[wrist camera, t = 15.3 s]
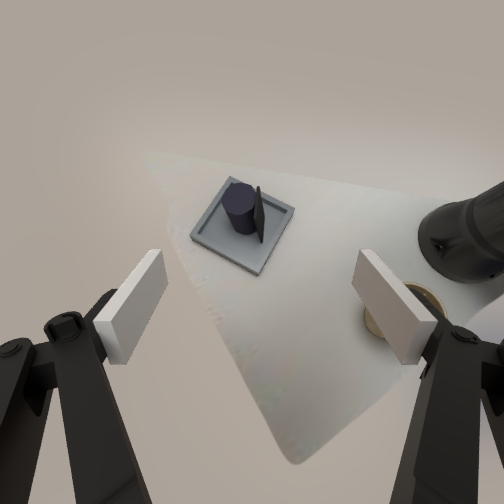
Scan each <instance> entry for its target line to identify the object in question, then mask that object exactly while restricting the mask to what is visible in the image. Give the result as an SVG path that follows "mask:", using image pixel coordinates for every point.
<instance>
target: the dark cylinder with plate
mask: <svg viewBox="0 0 504 504" xmlns="http://www.w3.org/2000/svg"><path fill="white" fill-rule="evenodd" d="M221 203H222V205H223V207H224V209H225V212H226V214H227V216H228V218H229V220H230V222H231V224H232V225H233V227H234V229H235V230H236V232H238V233H241V234H244V235H249V234H251V233H253V232H255V231H256V230H257V232H258V236H259V239H260V242H261V243H263V236H264V224H265V214H264V208H263V203H262V197H261V192H260V187H259V186H257V190H256V192H255V190H254V189H253V187H252V186H251V185H248V184H245V183H241V182H240V183H235V184H233V185H232V186H230V187H228V188H226V190H225V192H224V194H223V196H222V198H221Z"/></svg>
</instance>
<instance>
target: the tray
mask: <svg viewBox="0 0 504 504" xmlns="http://www.w3.org/2000/svg"><path fill="white" fill-rule="evenodd" d="M240 182H241V181H239V180H237V179H235V178H233V177H231V176H229V178H228V179H227V181H226V182H225V184H224V185H223V186H222V188H221V189H220V191H219V192H218V194H217V195H216V197H215V198H214V200H213V201H212V203H211V204H210V205H209V207H208V208H207V210H206V211H205V213H204V214H203V216H202V217H201V219H200V220H199V222H198V223H197V224H196V226H195V227H194V229H193V230H192V232H191V233H190V235H189V236H190V237H191V239H192V240H193V241H195V242H197V243H199V244H200V245H202V246H204V247H206V248H208V249H210V250H211V251H213V252H215V253H217V254H219V255H220V256H222V257H224V258H226V259H228V260H230V261H231V262H233V263H235V264H237V265H239V266H240V267H242V268H244V269H246V270H248V271H250V272H251V273H253V274H255V275H257V276H258V275H259V274H260V272H261V270H262V268H263V267H264V265H265V263H266V261H267V259H268V258H269V256H270V254H271V252H272V250H273V249H274V247H275V245H276V243H277V242H278V240H279V238H280V236H281V234H282V233H283V231H284V229H285V227H286V225H287V224H288V222H289V220H290V218H291V217H292V215H293V212H294V210H295V208H293V207H291V206H289V205H287V204H285V203H283V202H281V201H279V200H277V199H275V198H273V197H271V196H269V195H267V194H265V193H263V192H261V191H260V192H261V197H262V203H263V208H264V214H265V224H264V236H263V243H261V242H260V239H259V236H258V232H257V230H256V231H255V232H253V233H251V234H249V235H244V234H241V233H238V232H236V230H235V229H234V227H233V225H232V224H231V222H230V220H229V218H228V216H227V214H226V212H225V209H224V207H223V205H222V203H221V198H222V196H223V194H224V192H225V190H226V188H228V187H230V186H232V185H233V184H235V183H240ZM241 183H243V182H241ZM253 189H254V190H255V192H256V190H257V189H255V188H253Z"/></svg>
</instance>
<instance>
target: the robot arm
mask: <svg viewBox="0 0 504 504" xmlns="http://www.w3.org/2000/svg"><path fill="white" fill-rule="evenodd" d="M418 236H419V244H420V248H421V250H422V253H423V255H424V256H425V258H426V259H427V261H428V262H429V263H430V265H431V266H432V267H433V268H434V269H435V270H437V271H438V272H439V273H441V274H442V275H444V276H445V277H447V278H449V279H451V280H454V281H457V282H461V283H477V282H482V281H487V280H491V279H493V278H496V277H498V276H499V275H501V274H502V273H504V181H503V182H502V183H500V184H498V185H496V186H494V187H493V188H491V189H489V190H488V191H486V192H484V193H482V194H480V195H479V196H477V197H475V198H471V199H468V200H464V201H460V202H453V203H449V204H445V205H443V206H440V207H439V208H437V209H435V210H434V211H432V212H431V213H429V214H428V215H427V216H426V217H425V218H424V219H423V221H422V223H421V225H420V228H419V235H418ZM167 285H168V280H167V275H166V269H165V264H164V259H163V254H162V250H161V249H150V250H149V251H148V253H147V254H146V255H145V256H144V257H143V259H142V260H141V261H140V262H139V264H138V265H137V266H136V267H135V269H134V270H133V271H132V273H131V274H130V275H129V276H128V277H127V279H126V280H125V281H124V282H123V284H122V285H121V286H120V288H119V289H111V290H110V291H108V292H107V293H105V294H104V295H103V296H102V297H101V298H100V299H99V300H98V302H97V303H96V304H95V305H94V306H93V308H91V310H90V311H89V312H88V313H87V314H86V315H85V317H84V318H82V315H81V314H80V313H79V312H75V311H73V312H66V313H62V314H60V315H58V316H55V317H54V318H52V319H51V320H49V321H48V322H47V323H46V325H45V326H44V332H45V333H46V335H47V337H48V339H49V342H44V343H40V344H36V345H33V344H32V342H31V340H29V339H28V338H18V339H14V340H11V341H8V342H6V343H4V344H3V345H1V346H0V504H28V500H29V496H30V491H31V487H32V482H33V477H34V473H35V469H36V465H37V460H38V456H39V451H40V447H41V442H42V437H43V433H44V429H45V424H46V420H47V415H48V411H49V406H50V402H51V397H52V393H53V389H54V388H57V387H58V389H59V396H60V403H61V409H62V416H63V422H64V428H65V434H66V441H67V447H68V454H69V460H70V467H71V473H72V479H73V485H74V492H75V499H76V504H152V502H151V499H150V496H149V493H148V490H147V488H146V485H145V482H144V479H143V476H142V473H141V471H140V468H139V465H138V462H137V460H136V456H135V454H134V451H133V448H132V445H131V442H130V440H129V437H128V434H127V431H126V428H125V426H124V423H123V420H122V417H121V414H120V412H119V409H118V406H117V403H116V400H115V397H114V395H113V392H112V389H111V386H110V383H109V380H108V378H107V375H106V372H105V370H104V367H103V364H102V363H103V362H104V360H105V358H106V357H107V358H108V360H109V363H110V364H127V362H128V360H129V358H130V356H131V354H132V353H133V351H134V348H135V347H136V345H137V343H138V341H139V339H140V337H141V335H142V333H143V331H144V329H145V327H146V325H147V324H148V321H149V320H150V318H151V316H152V314H153V312H154V310H155V308H156V306H157V304H158V302H159V300H160V298H161V296H162V294H163V293H164V290H165V289H166V287H167ZM352 285H353V286H354V288H355V290H356V291H357V293H358V294H359V296H360V298H361V299H362V301H363V303H364V304H365V306H366V307H367V309H368V311H369V312H370V314H371V316H372V317H373V319H374V321H375V322H376V324H377V325H378V327H379V329H380V330H381V332H382V334H383V335H384V337H385V338H386V340H387V342H388V343H389V345H390V347H391V348H392V350H393V352H394V353H395V355H396V356H397V358H398V360H399V361H400V363H401V365H418V363H419V361H420V358H421V356H423V358H424V359H425V361H426V362H427V364H426V366H425V368H424V370H423V372H422V374H421V376H420V379H421V384H420V388H419V392H418V395H417V399H416V403H415V407H414V411H413V415H412V418H411V422H410V426H409V430H408V434H407V438H406V442H405V445H404V450H403V453H402V457H401V461H400V465H399V469H398V472H397V476H396V480H395V484H394V488H393V492H392V496H391V499H390V503H389V504H478V469H479V436H480V401H481V400H482V403H483V406H484V409H485V412H486V415H487V419H488V422H489V425H490V428H491V431H492V434H493V437H494V440H495V443H496V447H497V450H498V453H499V456H500V459H501V462H502V465H503V468H504V339H503V340H502V342H501V343H500V345H499V344H495V343H490V342H485V341H481V340H480V339H479V338H478V336H477V335H475V334H474V333H473V332H471V331H469V330H467V329H465V328H463V327H460V326H455V325H452V324H451V323H450V322H449V321H448V320H447V319H446V318H445V317H444V315H443V314H442V313H441V312H440V311H439V310H438V309H437V308H436V307H434V305H433V304H432V303H431V302H429V300H428V299H427V298H426V297H425V296H424V295H423V294H421V293H420V292H418V291H417V290H415V289H413V288H407V287H406V286H405V285H404V284H403V283H402V282H401V281H400V280H399V279H398V277H397V276H396V275H395V274H394V273H393V272H392V271H391V270H390V269H389V268H388V267H387V266H386V265H385V263H384V262H383V261H382V260H381V259H380V258H379V257H378V256H377V255H376V254H375V253H374V252H373V251H372V249H360V250H359V254H358V259H357V263H356V267H355V272H354V276H353V280H352ZM480 399H481V400H480Z"/></svg>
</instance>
